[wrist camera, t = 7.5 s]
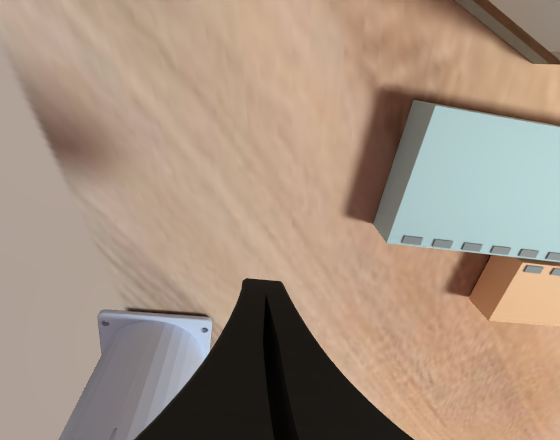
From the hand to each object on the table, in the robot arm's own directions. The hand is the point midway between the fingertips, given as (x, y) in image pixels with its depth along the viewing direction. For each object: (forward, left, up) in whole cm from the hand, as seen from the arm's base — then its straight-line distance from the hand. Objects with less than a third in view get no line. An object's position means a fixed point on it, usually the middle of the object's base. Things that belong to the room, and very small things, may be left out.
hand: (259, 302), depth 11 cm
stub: (-4, -22, -10) cm, 25 cm away
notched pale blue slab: (+3, -15, -10) cm, 18 cm away
